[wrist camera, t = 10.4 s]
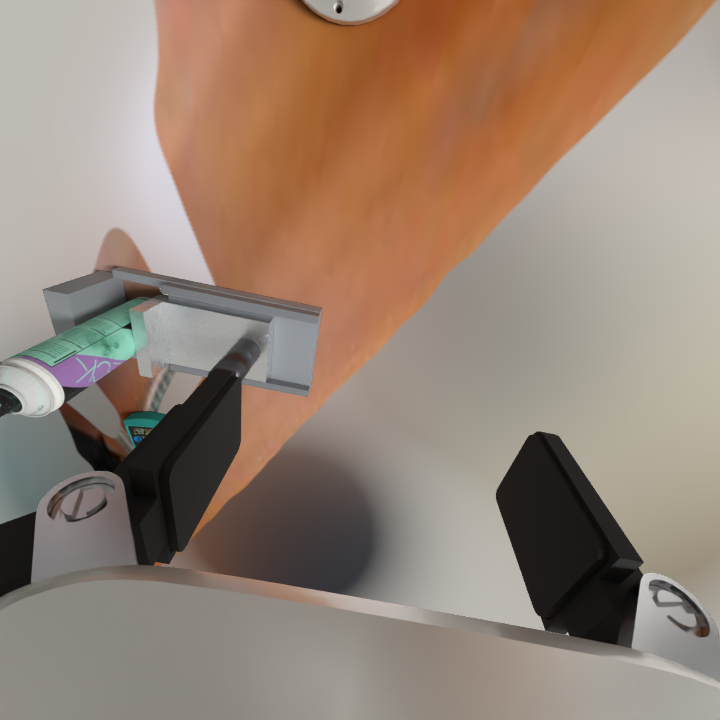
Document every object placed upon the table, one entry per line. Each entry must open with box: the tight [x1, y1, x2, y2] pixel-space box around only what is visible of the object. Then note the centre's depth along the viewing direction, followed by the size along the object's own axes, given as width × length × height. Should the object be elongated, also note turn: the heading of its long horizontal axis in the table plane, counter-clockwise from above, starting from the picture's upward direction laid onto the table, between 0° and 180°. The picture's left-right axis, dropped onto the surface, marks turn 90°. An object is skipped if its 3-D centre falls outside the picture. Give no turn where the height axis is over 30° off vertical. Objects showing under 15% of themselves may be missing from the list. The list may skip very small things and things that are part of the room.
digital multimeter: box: [123, 412, 166, 449], centre depth 54 cm, size 7×15×3 cm, turn 178°
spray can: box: [0, 297, 151, 417], centre depth 34 cm, size 6×6×20 cm
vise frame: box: [43, 267, 322, 397], centre depth 40 cm, size 12×28×8 cm, turn 79°
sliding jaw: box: [129, 294, 274, 382], centre depth 38 cm, size 8×14×9 cm, turn 79°
